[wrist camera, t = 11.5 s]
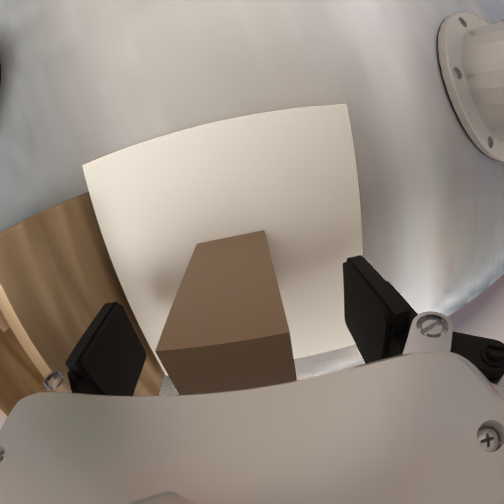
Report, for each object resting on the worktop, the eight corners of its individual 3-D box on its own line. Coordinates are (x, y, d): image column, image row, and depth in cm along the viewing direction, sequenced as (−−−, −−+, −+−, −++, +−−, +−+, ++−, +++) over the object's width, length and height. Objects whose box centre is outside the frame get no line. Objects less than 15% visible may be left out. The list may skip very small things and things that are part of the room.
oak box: (93, 190, 14) (-16, 243, 6) (166, 366, 19) (141, 465, 11) (-10, 238, 15) (-79, 285, 6) (56, 367, 20) (20, 432, 11)
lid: (339, 105, 12) (456, 75, 4) (356, 334, 18) (405, 435, 10) (91, 163, 13) (-32, 199, 5) (168, 366, 18) (143, 470, 10)
